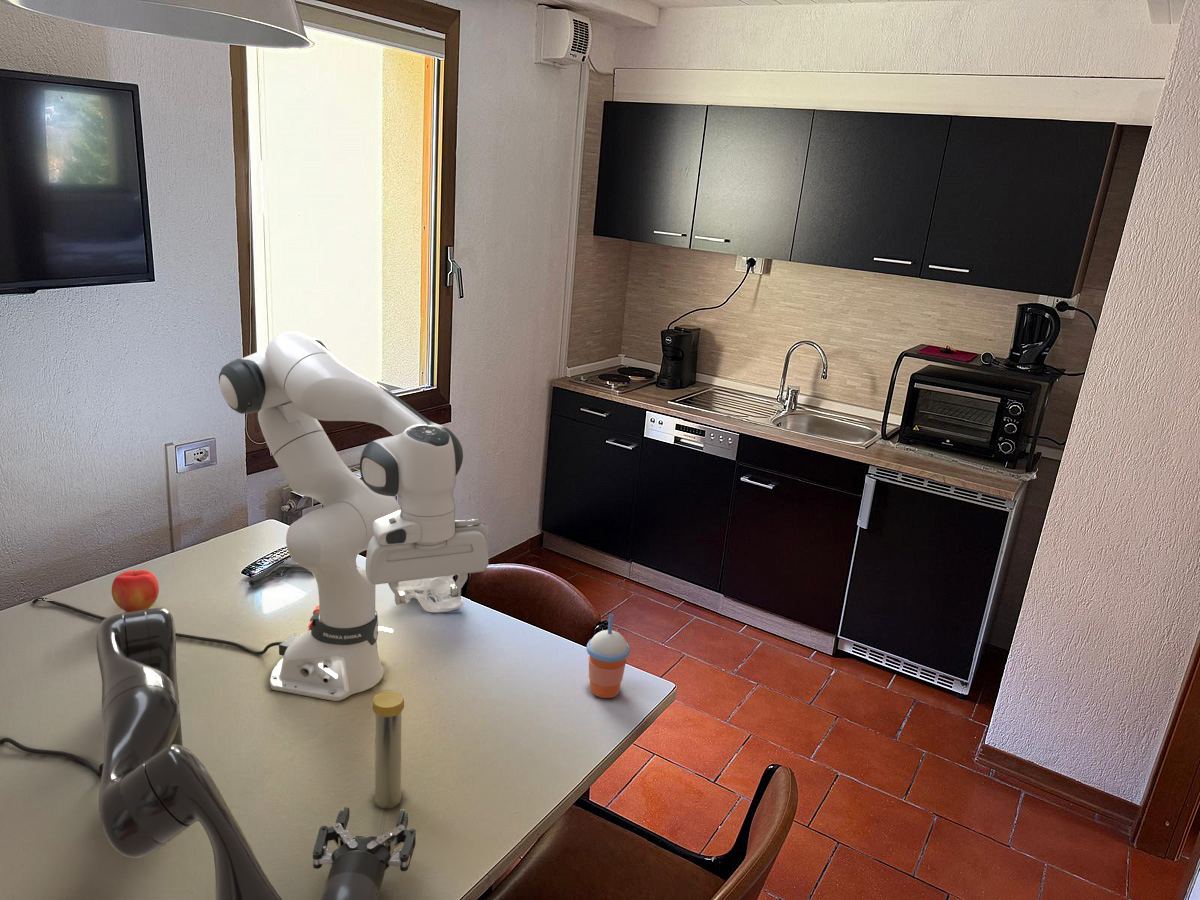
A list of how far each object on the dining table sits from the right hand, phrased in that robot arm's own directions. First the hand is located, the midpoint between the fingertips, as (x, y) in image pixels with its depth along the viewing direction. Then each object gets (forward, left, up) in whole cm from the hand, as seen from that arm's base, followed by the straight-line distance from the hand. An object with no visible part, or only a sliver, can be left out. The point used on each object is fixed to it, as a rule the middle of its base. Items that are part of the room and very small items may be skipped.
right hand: (428, 599), depth 145 cm
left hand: (-4, -20, -27) cm, 34 cm away
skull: (-11, +62, -33) cm, 71 cm away
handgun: (-48, +70, -33) cm, 91 cm away
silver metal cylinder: (-4, -10, -33) cm, 35 cm away
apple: (-75, +48, -33) cm, 95 cm away
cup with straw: (+33, +27, -33) cm, 54 cm away
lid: (-4, -10, -14) cm, 17 cm away
